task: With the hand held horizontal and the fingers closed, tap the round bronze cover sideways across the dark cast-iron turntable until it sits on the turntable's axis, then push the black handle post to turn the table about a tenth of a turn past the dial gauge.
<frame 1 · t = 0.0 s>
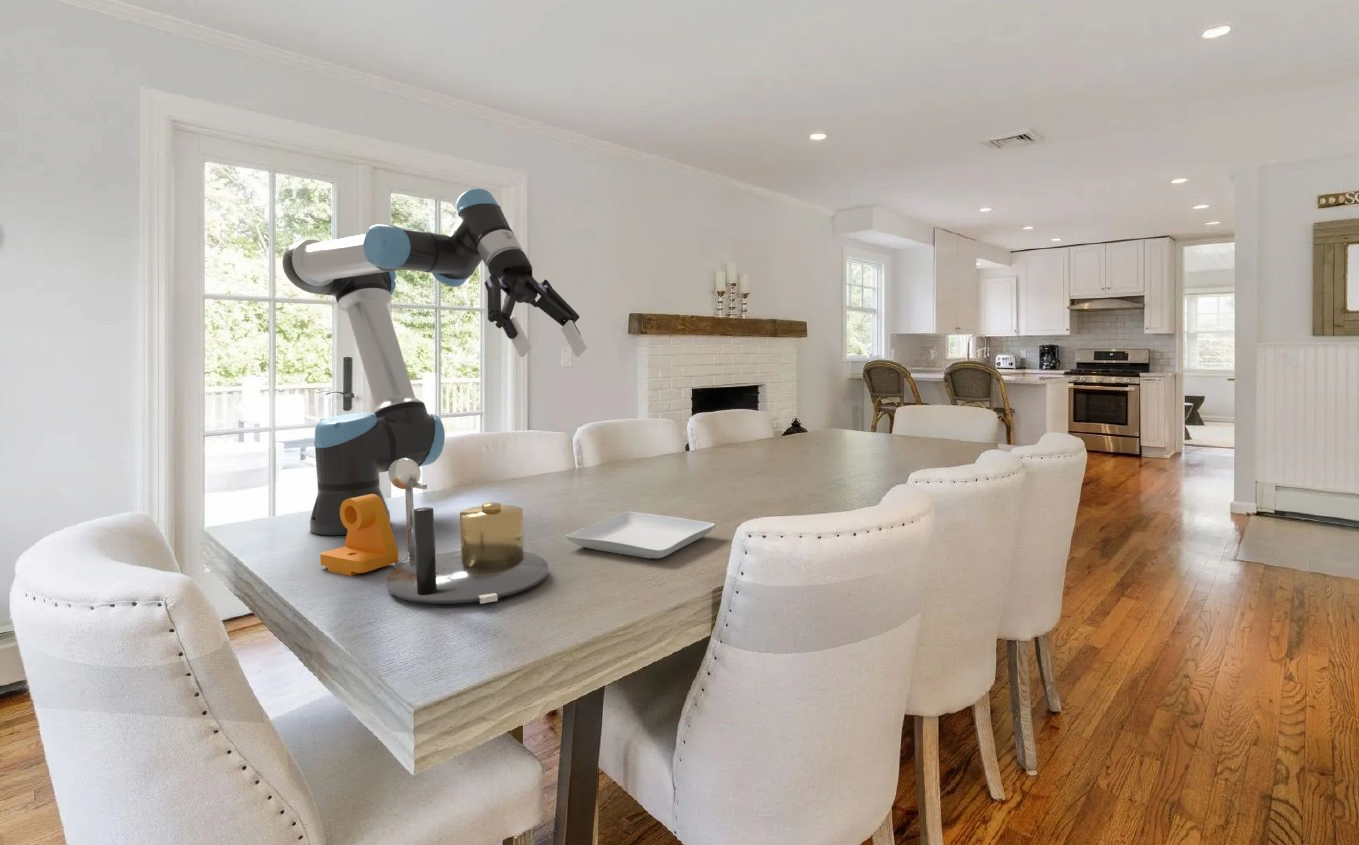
hand: (555, 352, 124), 36 cm above the table, tool tilted 35°, fingers open, 13 cm apart
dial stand: (412, 565, 118), on the table
salad plate: (643, 546, 131), on the table
bracket: (358, 568, 117), on the table
turntable: (468, 536, 108), point 7 cm above the table, hinge at 0.0°, touching cover
cover: (493, 558, 115), point 2 cm above the table, touching turntable
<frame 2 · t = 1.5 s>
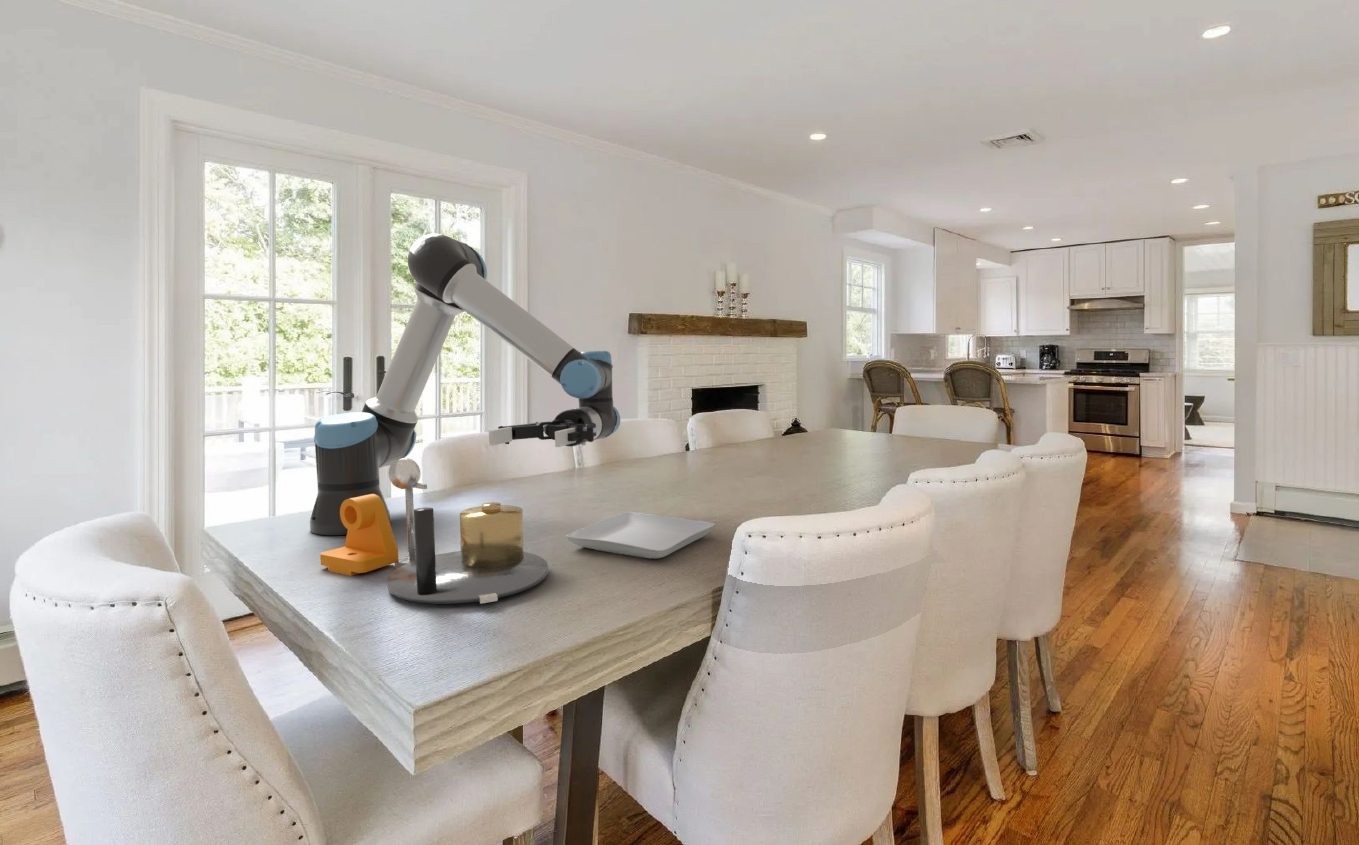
hand: (523, 438, 124), 21 cm above the table, tool horizontal, fingers open, 13 cm apart
nothing on the table moved.
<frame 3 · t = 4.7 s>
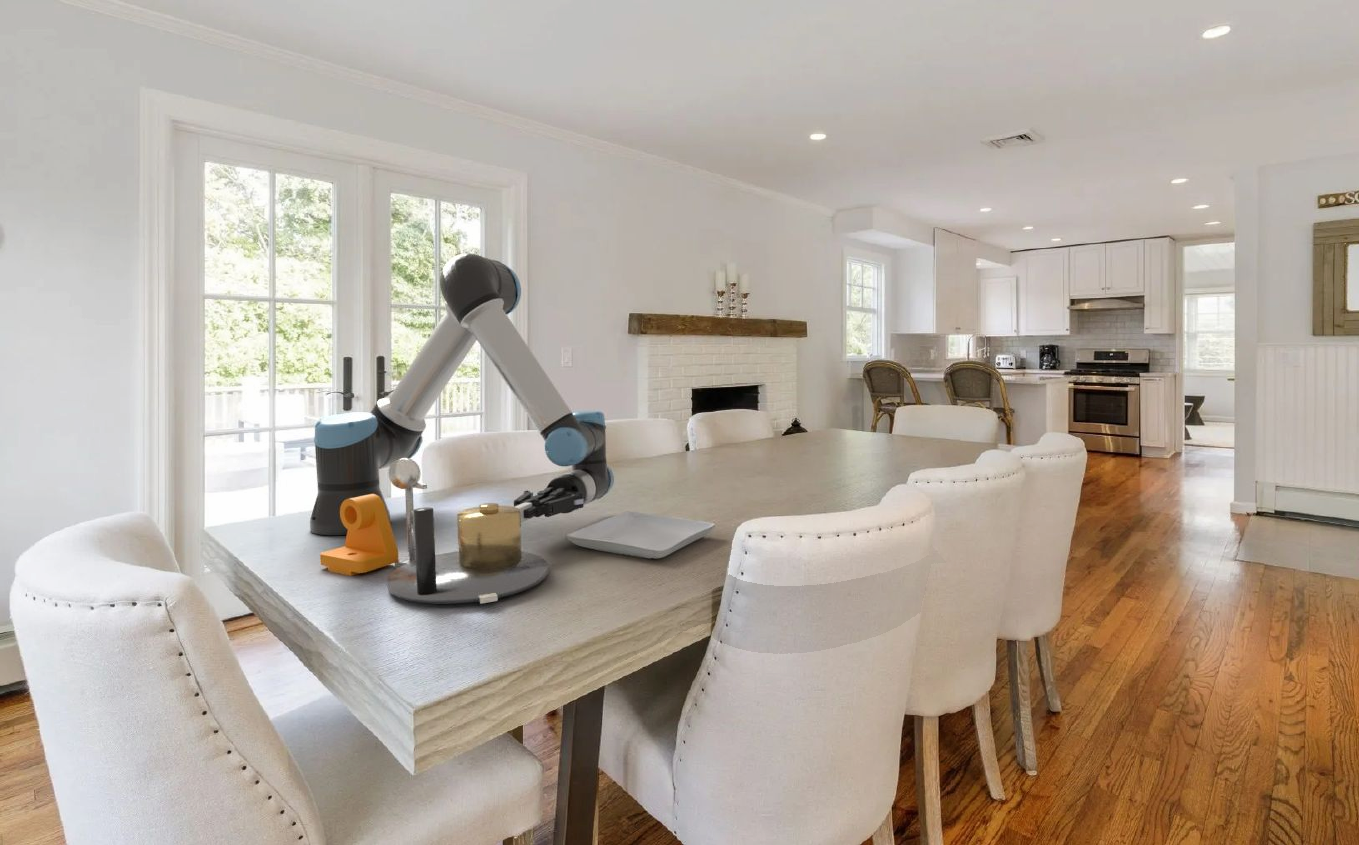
hand: (509, 518, 119), 8 cm above the table, tool horizontal, fingers closed
nothing on the table moved.
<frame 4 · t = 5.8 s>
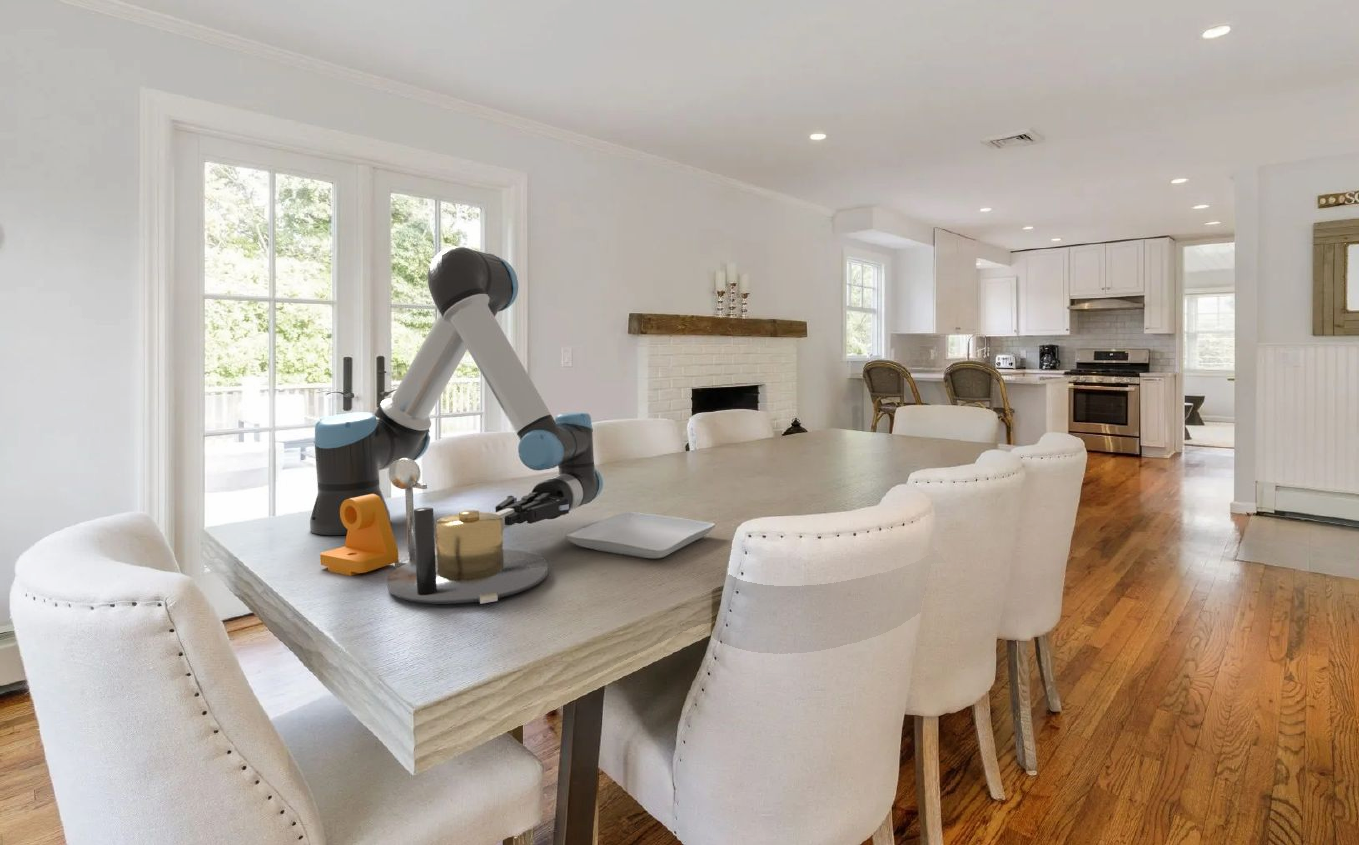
hand: (489, 524, 113), 8 cm above the table, tool horizontal, fingers closed
cover: (471, 569, 109), point 2 cm above the table, touching gripper, turntable
everything else where it was.
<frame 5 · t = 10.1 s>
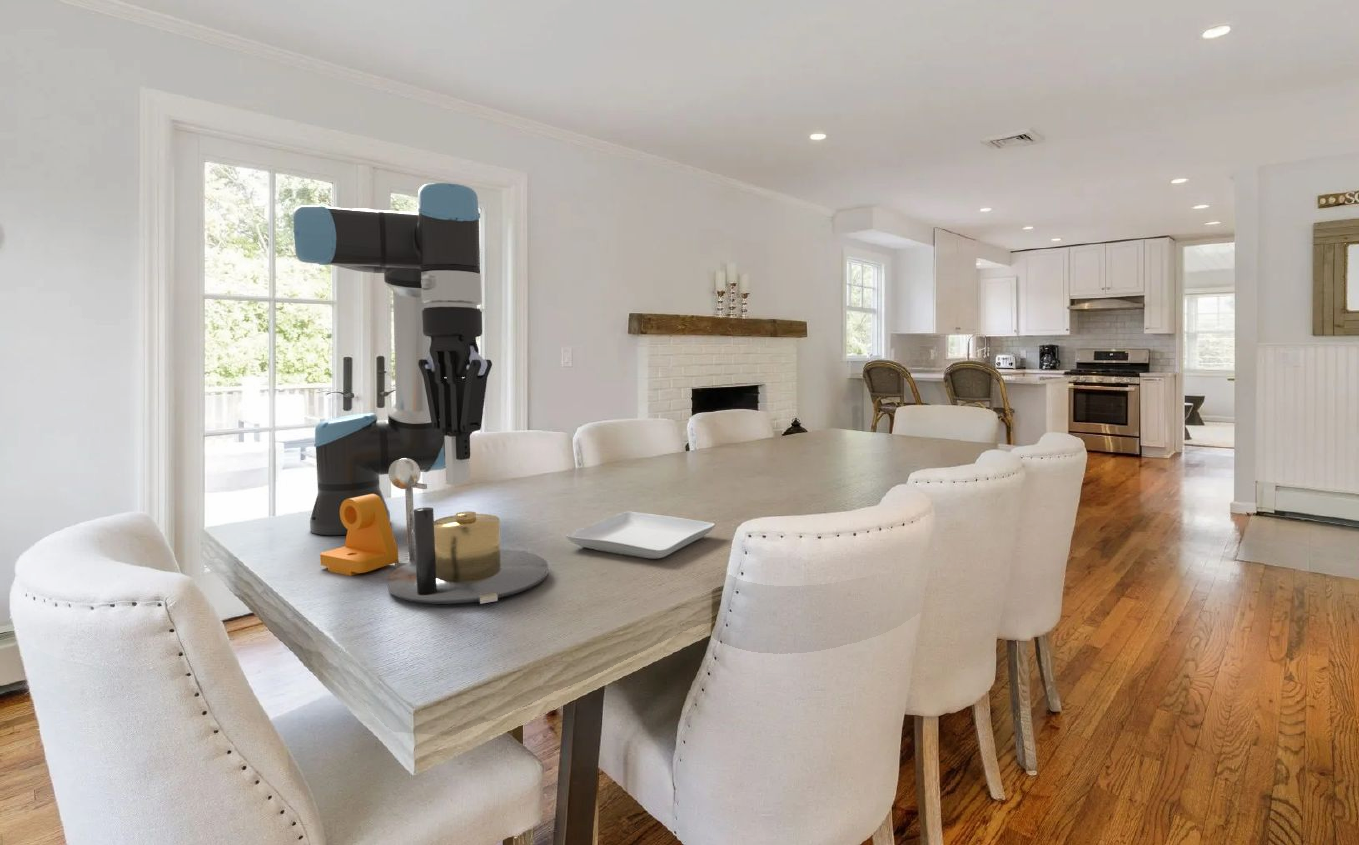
hand: (458, 482, 94), 18 cm above the table, tool pointing down, fingers closed
cover: (467, 571, 108), point 2 cm above the table, touching turntable
everything else where it was.
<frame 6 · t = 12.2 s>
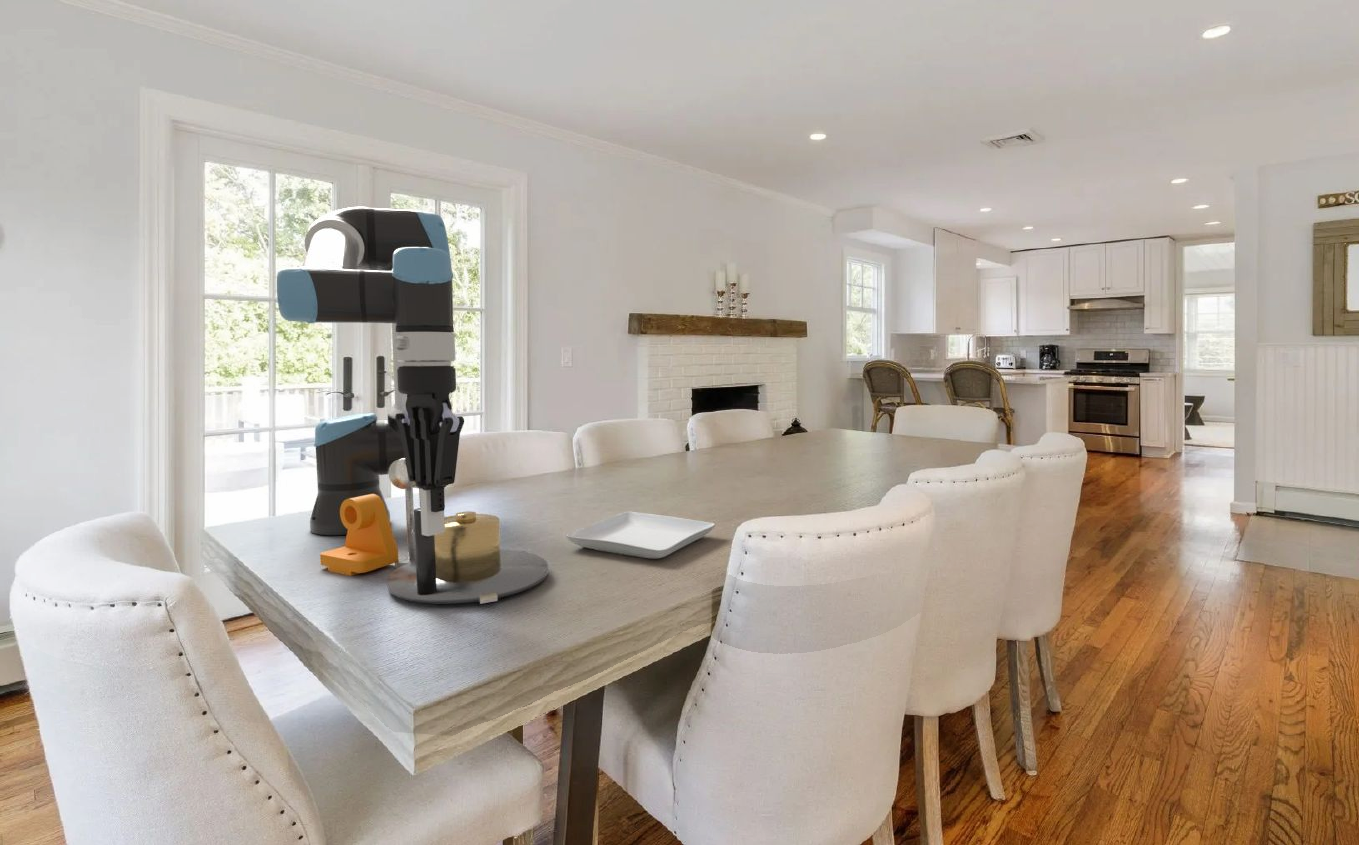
hand: (433, 533, 97), 11 cm above the table, tool pointing down, fingers closed
turntable: (468, 536, 108), point 7 cm above the table, hinge at 0.0°, touching cover, gripper
everything else where it was.
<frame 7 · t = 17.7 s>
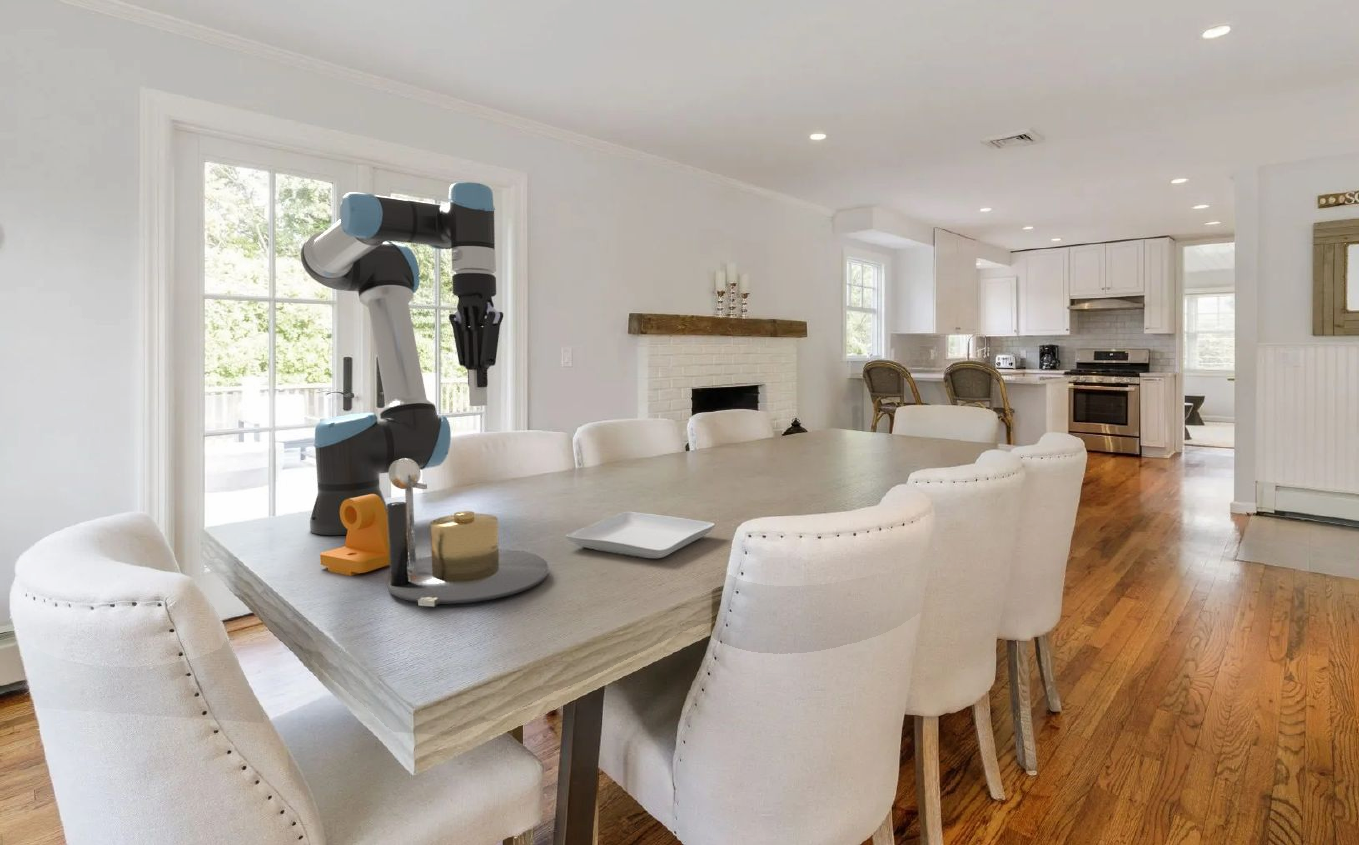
hand: (478, 405, 126), 26 cm above the table, tool pointing down, fingers closed
turntable: (468, 536, 108), point 7 cm above the table, hinge at -36.9°, touching cover
everything else where it was.
at the end: cover 0.6 cm from the turntable (horizontally); cover tilted 0°; turntable at -37° (first picture: +0°) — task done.
